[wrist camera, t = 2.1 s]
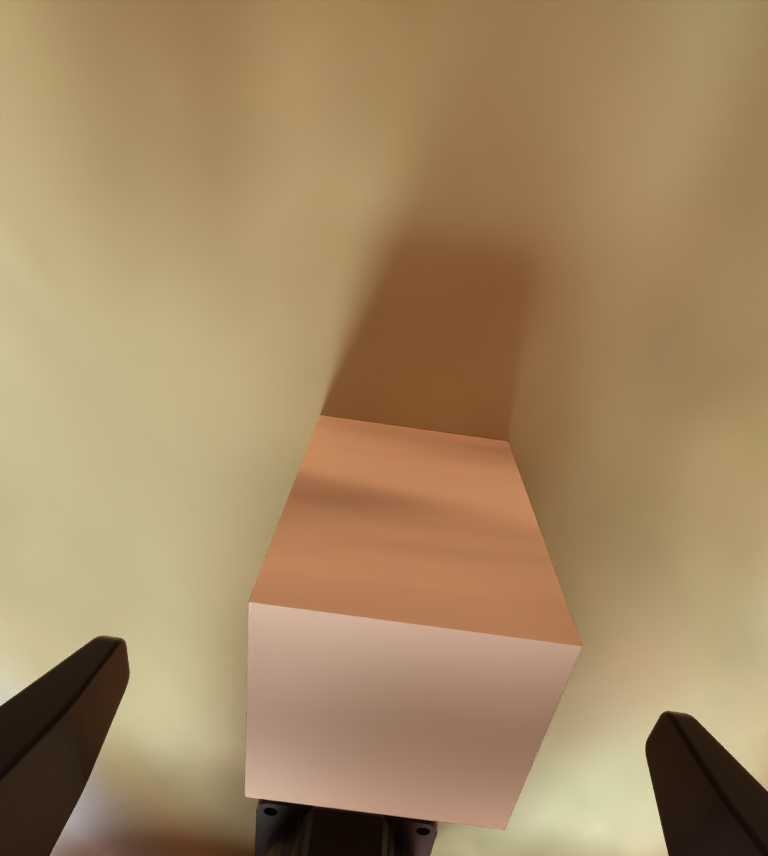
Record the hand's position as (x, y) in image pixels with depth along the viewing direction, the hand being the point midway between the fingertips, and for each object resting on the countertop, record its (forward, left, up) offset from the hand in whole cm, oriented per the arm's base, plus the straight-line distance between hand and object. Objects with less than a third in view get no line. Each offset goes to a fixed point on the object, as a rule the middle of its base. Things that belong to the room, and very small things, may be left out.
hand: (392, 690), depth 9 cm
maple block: (0, 0, -5) cm, 5 cm away
